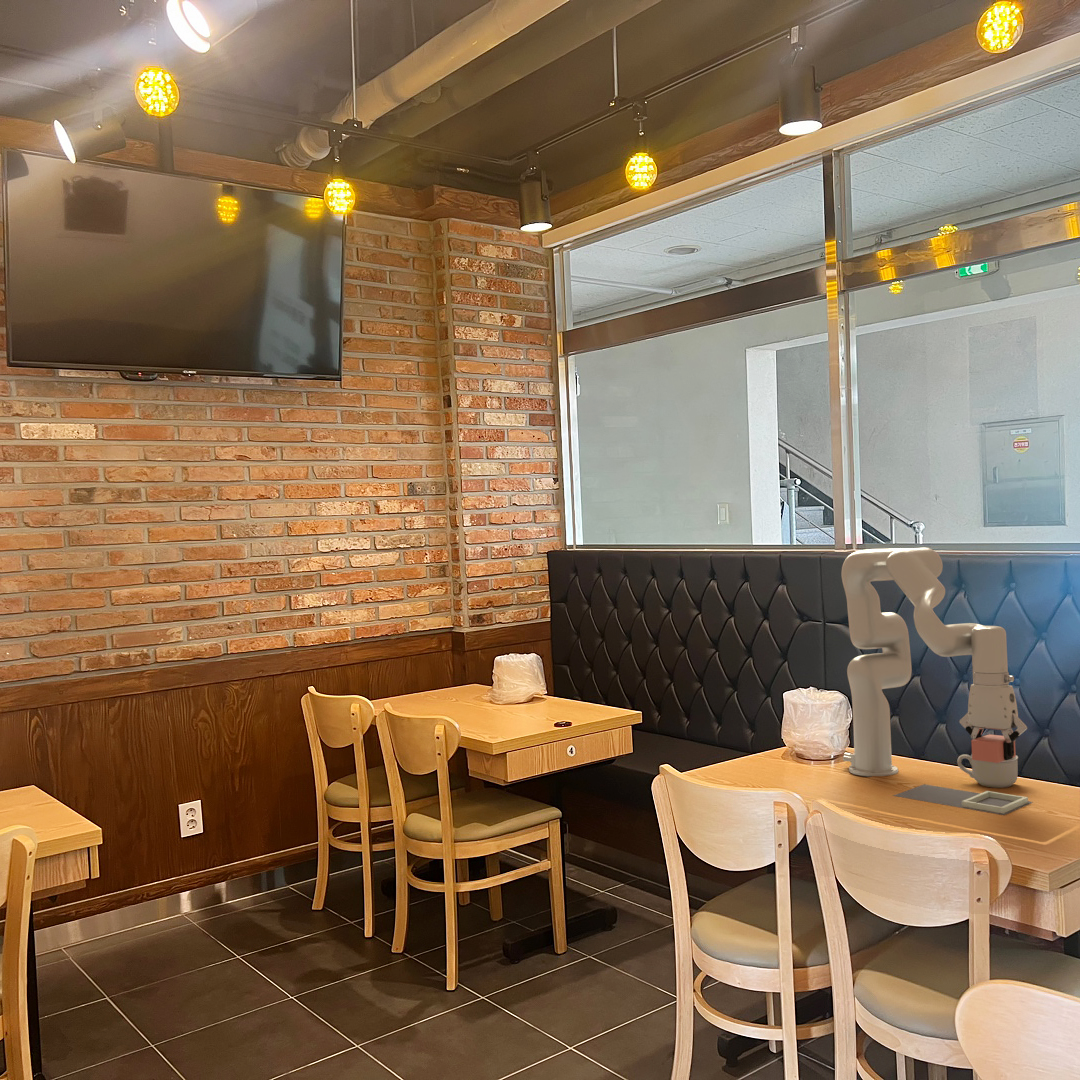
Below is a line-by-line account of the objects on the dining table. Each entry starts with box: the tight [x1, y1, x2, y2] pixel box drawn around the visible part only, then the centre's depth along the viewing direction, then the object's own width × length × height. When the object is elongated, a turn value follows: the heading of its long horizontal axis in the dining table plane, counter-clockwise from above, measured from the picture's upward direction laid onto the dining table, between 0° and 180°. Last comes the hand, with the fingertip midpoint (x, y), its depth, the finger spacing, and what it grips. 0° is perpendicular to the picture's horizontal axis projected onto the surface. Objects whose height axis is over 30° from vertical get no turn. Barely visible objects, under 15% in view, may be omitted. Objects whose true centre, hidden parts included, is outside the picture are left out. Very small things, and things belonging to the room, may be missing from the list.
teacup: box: [956, 753, 1019, 789], centre depth 257 cm, size 14×11×8 cm
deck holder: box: [962, 790, 1029, 814], centre depth 238 cm, size 10×13×1 cm
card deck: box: [970, 734, 1016, 763], centre depth 238 cm, size 9×6×4 cm, turn 131°
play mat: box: [892, 783, 1034, 816], centre depth 244 cm, size 27×15×1 cm, turn 41°
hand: (994, 756), depth 238 cm, fingers closed on card deck, 6 cm apart
